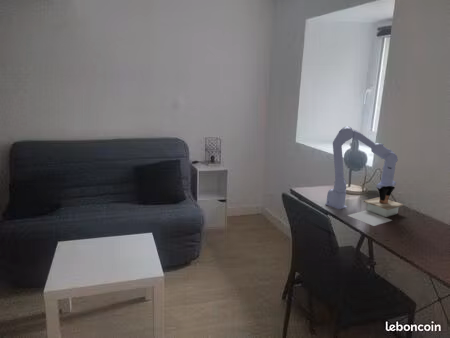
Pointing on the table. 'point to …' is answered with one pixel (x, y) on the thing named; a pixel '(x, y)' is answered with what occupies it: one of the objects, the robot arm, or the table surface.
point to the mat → (369, 218)
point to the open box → (382, 210)
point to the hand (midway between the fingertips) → (384, 199)
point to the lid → (383, 203)
